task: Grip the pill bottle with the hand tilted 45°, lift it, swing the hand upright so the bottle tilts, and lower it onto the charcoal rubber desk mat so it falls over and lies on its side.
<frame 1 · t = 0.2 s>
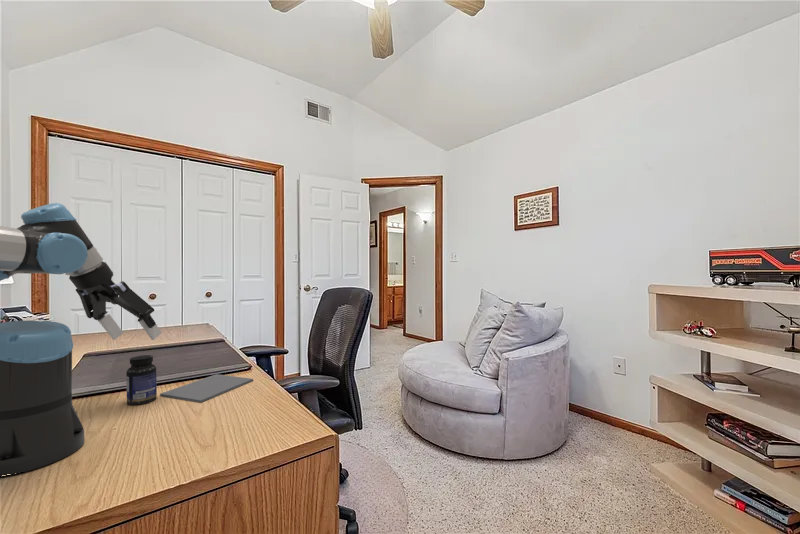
hand: (137, 336, 95), 15 cm above the table, tool tilted 30°, fingers open, 13 cm apart
pill bottle: (141, 401, 90), on the table
desk mat: (209, 388, 100), on the table
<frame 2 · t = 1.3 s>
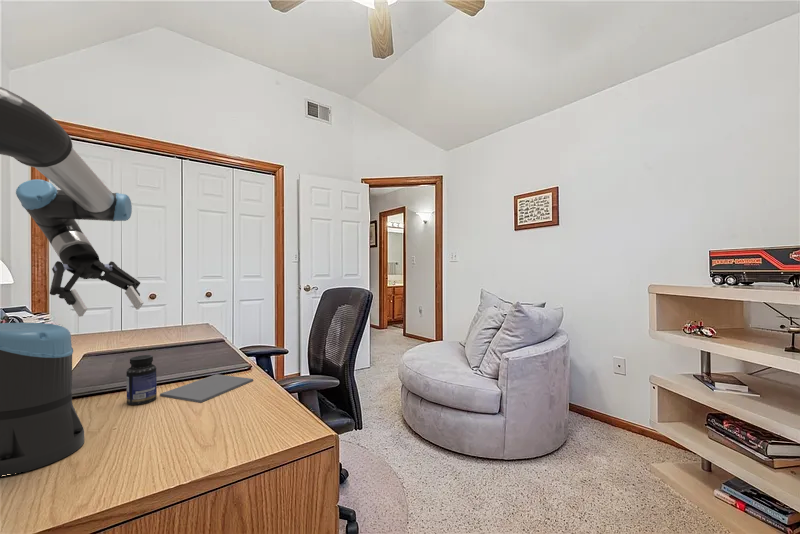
hand: (113, 309, 94), 22 cm above the table, tool tilted 45°, fingers open, 13 cm apart
nothing on the table moved.
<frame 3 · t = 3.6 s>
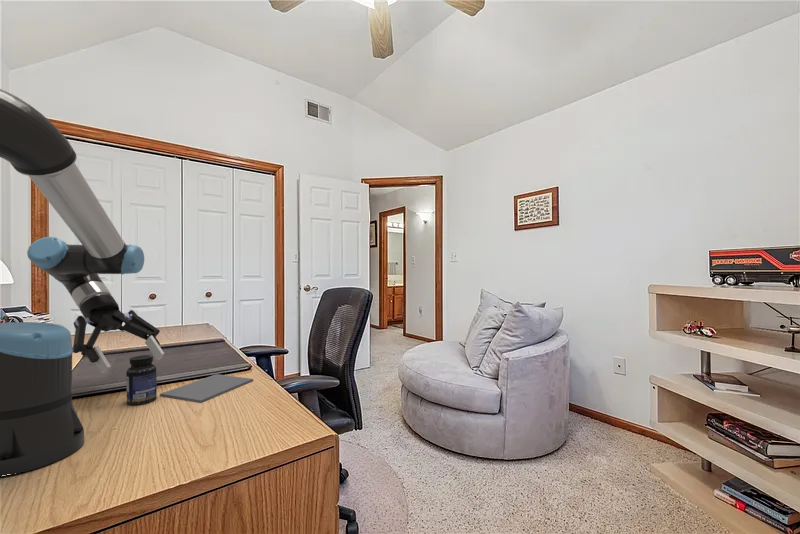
hand: (135, 363, 93), 9 cm above the table, tool tilted 45°, fingers open, 13 cm apart
nothing on the table moved.
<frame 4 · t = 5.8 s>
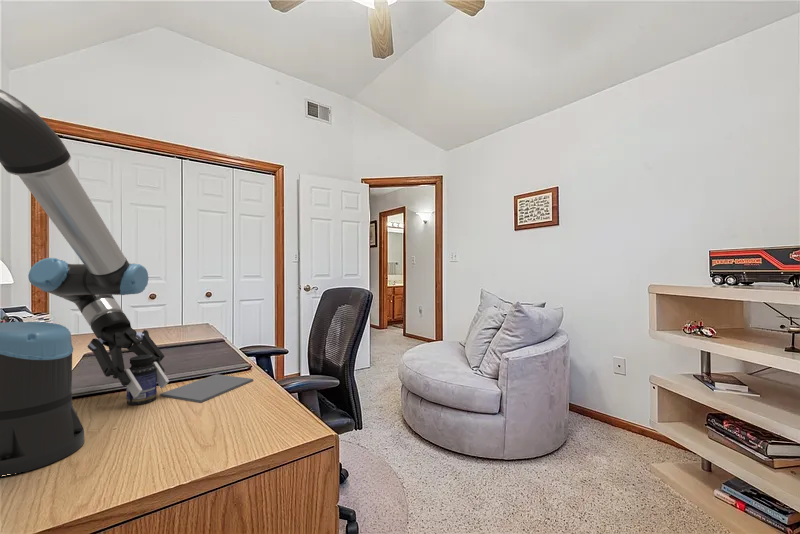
hand: (152, 389, 89), 3 cm above the table, tool tilted 45°, fingers closed on pill bottle, 6 cm apart
pill bottle: (141, 401, 90), on the table, touching gripper
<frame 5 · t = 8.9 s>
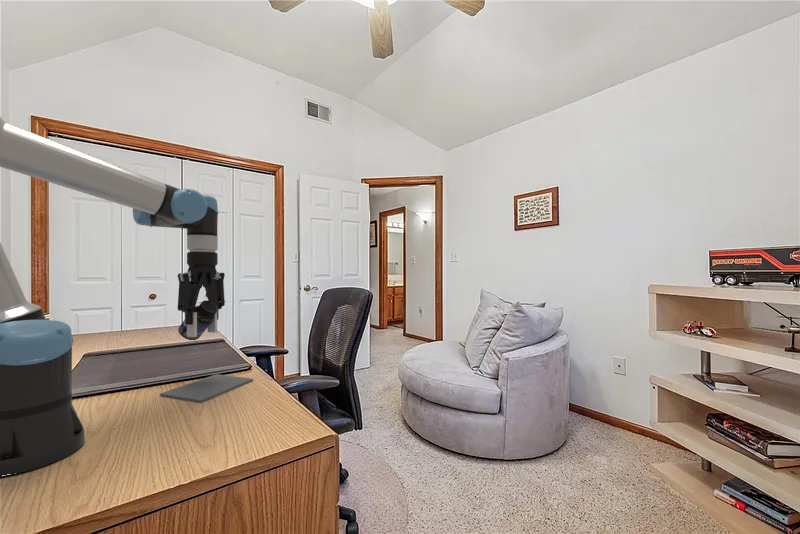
hand: (202, 334, 100), 15 cm above the table, tool pointing down, fingers closed on pill bottle, 6 cm apart
pill bottle: (188, 333, 102), point 15 cm above the table, touching gripper
when the fingers open (4 cm above the table, at t = 11.2 s): pill bottle moves 2 cm, resting on desk mat.
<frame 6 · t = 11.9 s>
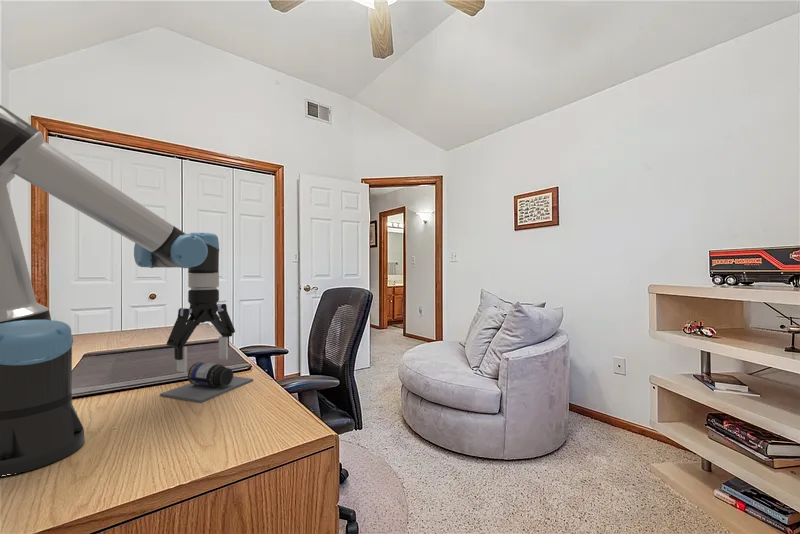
hand: (203, 364, 100), 6 cm above the table, tool pointing down, fingers open, 13 cm apart
pill bottle: (195, 372, 101), point 4 cm above the table, touching desk mat
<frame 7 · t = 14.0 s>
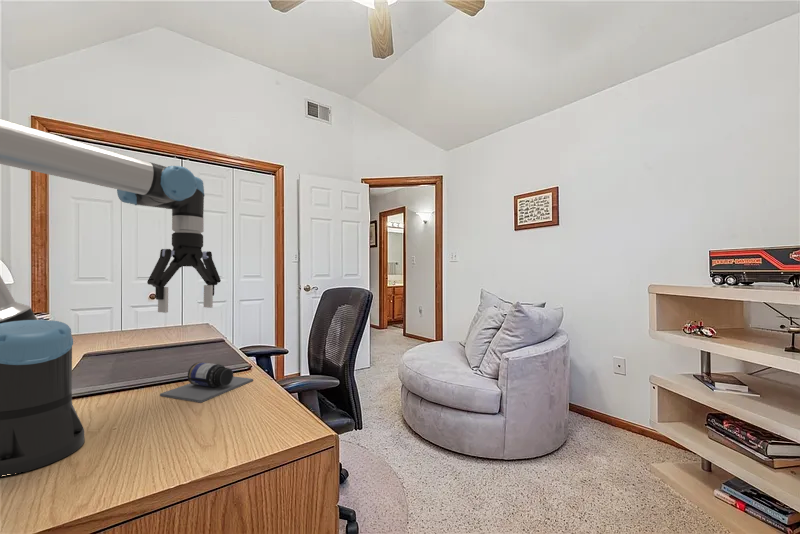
hand: (186, 309, 99), 22 cm above the table, tool pointing down, fingers open, 13 cm apart
nothing on the table moved.
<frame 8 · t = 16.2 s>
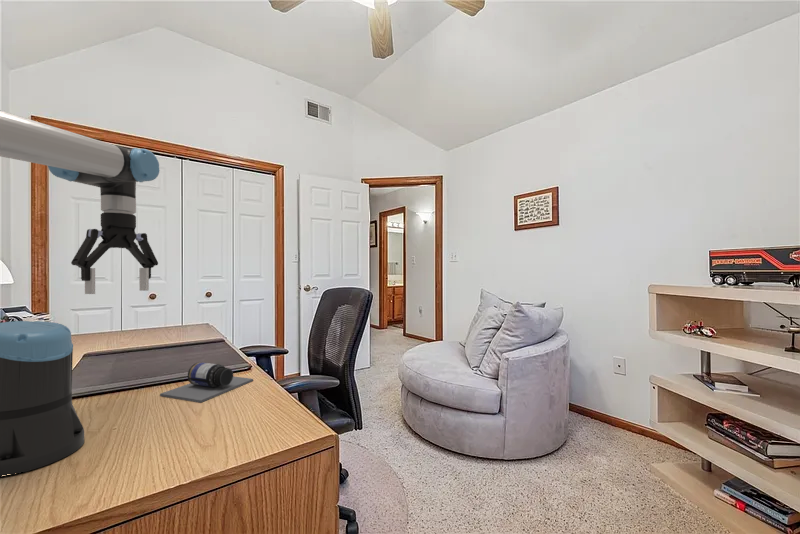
hand: (118, 292, 97), 27 cm above the table, tool pointing down, fingers open, 13 cm apart
nothing on the table moved.
at the end: pill bottle tilted 91°; pill bottle inside the target area on the desk mat (5.1 cm from its centre), point 3.7 cm above the desk mat's base; the gripper is holding nothing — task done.
